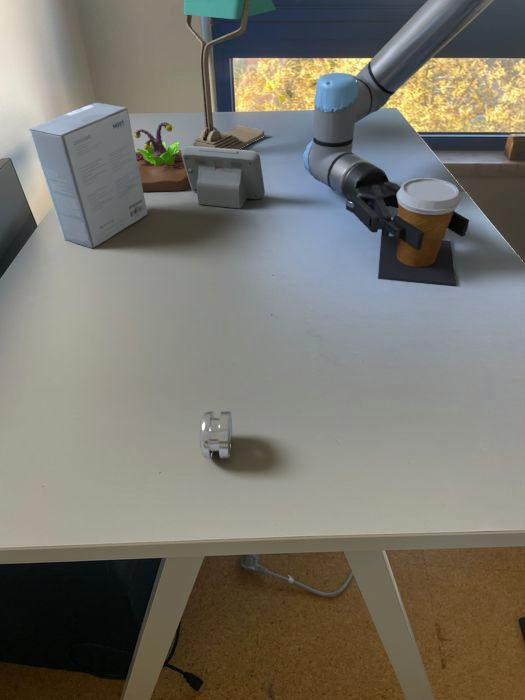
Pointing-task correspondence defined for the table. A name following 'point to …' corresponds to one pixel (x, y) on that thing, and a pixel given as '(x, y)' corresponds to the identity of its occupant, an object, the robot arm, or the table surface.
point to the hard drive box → (91, 172)
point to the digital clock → (223, 175)
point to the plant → (161, 164)
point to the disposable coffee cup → (425, 217)
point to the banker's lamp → (218, 3)
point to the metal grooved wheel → (216, 434)
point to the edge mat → (431, 274)
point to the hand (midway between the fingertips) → (443, 234)
